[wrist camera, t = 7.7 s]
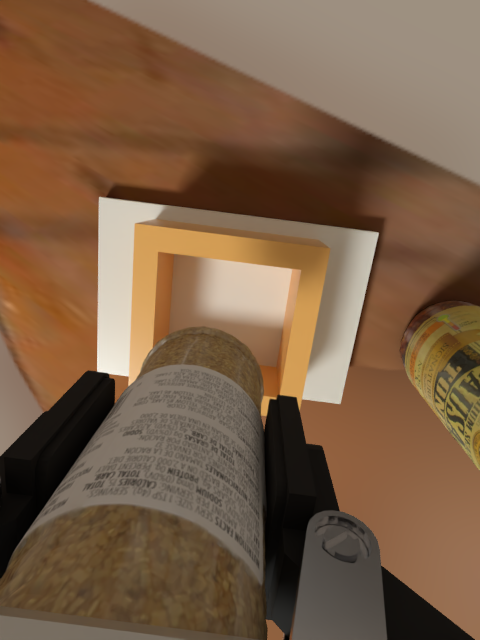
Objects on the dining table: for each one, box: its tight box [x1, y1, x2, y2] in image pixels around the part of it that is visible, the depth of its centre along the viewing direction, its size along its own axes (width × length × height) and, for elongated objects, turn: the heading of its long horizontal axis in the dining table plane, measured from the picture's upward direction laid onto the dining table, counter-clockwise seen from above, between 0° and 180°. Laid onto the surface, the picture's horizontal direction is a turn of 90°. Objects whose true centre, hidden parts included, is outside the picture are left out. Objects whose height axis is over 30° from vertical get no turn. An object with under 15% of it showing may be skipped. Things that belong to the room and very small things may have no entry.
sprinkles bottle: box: [0, 326, 267, 640], centre depth 8 cm, size 5×5×13 cm
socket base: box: [97, 197, 379, 416], centre depth 22 cm, size 16×11×5 cm
